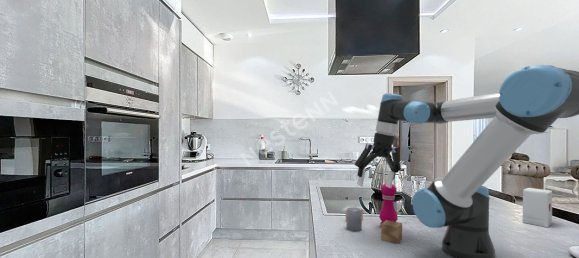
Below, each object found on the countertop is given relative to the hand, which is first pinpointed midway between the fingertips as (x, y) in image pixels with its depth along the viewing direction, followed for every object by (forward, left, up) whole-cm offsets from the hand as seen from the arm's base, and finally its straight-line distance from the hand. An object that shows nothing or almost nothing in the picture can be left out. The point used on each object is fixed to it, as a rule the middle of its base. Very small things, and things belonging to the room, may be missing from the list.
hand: (374, 186), depth 115 cm
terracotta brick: (+14, -8, -19) cm, 24 cm away
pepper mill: (-1, -10, -19) cm, 21 cm away
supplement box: (-45, -65, -19) cm, 81 cm away
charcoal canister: (+8, +2, -18) cm, 20 cm away
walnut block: (-8, +2, -18) cm, 20 cm away
